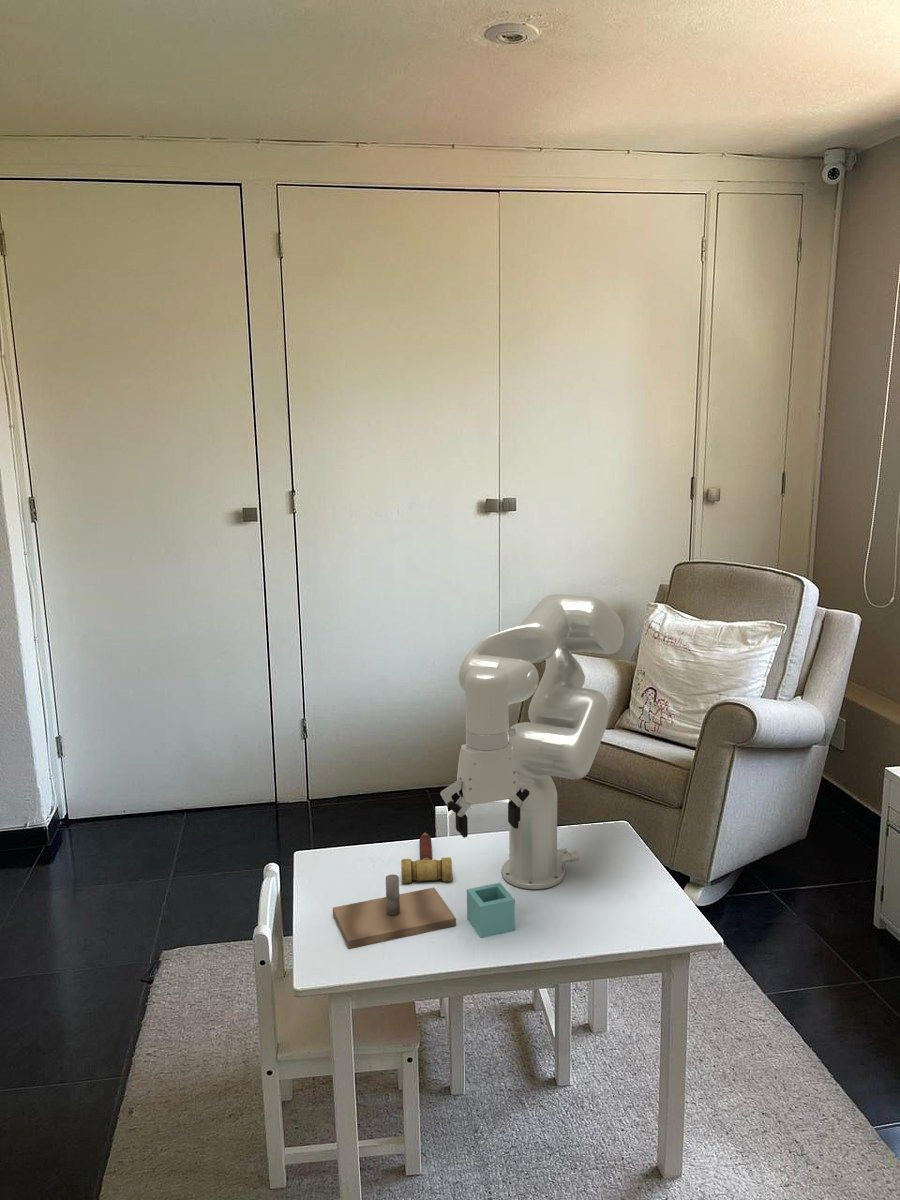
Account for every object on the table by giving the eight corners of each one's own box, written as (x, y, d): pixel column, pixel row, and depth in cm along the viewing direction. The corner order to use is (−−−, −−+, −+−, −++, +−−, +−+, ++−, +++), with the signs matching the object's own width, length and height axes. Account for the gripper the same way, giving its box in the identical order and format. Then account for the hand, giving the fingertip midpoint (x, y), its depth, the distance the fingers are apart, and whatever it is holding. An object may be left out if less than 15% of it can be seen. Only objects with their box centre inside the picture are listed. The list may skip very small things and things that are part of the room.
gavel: (402, 825, 203) (447, 823, 203) (402, 845, 204) (448, 843, 204) (401, 864, 182) (451, 863, 183) (401, 887, 183) (452, 885, 183)
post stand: (434, 894, 179) (433, 853, 178) (455, 925, 168) (455, 882, 166) (332, 914, 173) (330, 872, 171) (348, 948, 162) (346, 904, 160)
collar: (500, 912, 172) (500, 882, 171) (514, 930, 166) (514, 899, 165) (467, 919, 170) (466, 889, 169) (480, 937, 164) (480, 906, 163)
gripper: (524, 725, 168) (524, 814, 171) (433, 737, 162) (435, 829, 165) (541, 738, 161) (541, 830, 164) (447, 752, 155) (449, 847, 158)
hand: (488, 829), depth 165 cm, fingers open, 9 cm apart
